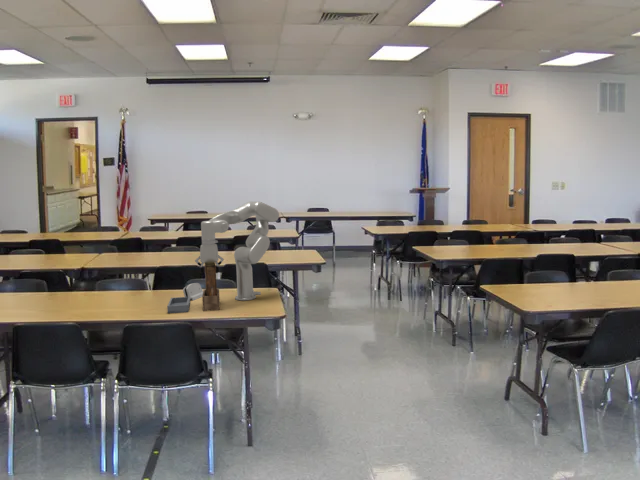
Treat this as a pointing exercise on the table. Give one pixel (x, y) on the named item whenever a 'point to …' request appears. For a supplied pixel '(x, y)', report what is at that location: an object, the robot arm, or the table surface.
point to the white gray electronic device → (193, 291)
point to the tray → (178, 305)
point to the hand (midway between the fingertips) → (210, 273)
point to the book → (210, 279)
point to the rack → (210, 301)
